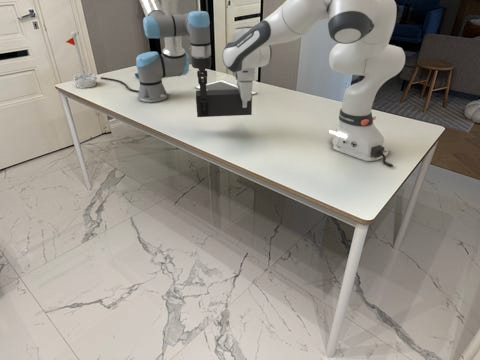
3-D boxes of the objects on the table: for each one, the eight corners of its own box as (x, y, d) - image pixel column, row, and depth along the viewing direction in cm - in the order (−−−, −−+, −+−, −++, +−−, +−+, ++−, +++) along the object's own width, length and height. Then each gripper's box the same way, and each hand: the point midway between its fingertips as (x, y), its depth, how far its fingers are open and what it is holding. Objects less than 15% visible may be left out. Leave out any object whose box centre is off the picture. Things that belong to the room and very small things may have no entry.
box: (249, 109, 147) (250, 88, 142) (251, 114, 142) (252, 93, 137) (197, 111, 145) (195, 90, 140) (197, 117, 140) (195, 95, 135)
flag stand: (97, 80, 212) (85, 28, 195) (98, 86, 202) (85, 32, 185) (75, 83, 208) (61, 30, 191) (74, 89, 198) (59, 34, 181)
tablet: (194, 87, 200) (194, 86, 200) (221, 80, 211) (221, 79, 211) (229, 101, 180) (229, 101, 180) (256, 93, 191) (256, 92, 191)
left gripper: (191, 50, 138) (195, 105, 150) (190, 63, 122) (195, 122, 134) (210, 50, 138) (212, 104, 151) (211, 62, 122) (214, 121, 135)
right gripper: (233, 64, 143) (233, 95, 150) (238, 78, 126) (238, 113, 133) (248, 63, 143) (247, 95, 151) (255, 77, 126) (254, 112, 134)
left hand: (204, 112), depth 143 cm, fingers closed on box, 6 cm apart
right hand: (243, 103), depth 142 cm, fingers closed on box, 6 cm apart
